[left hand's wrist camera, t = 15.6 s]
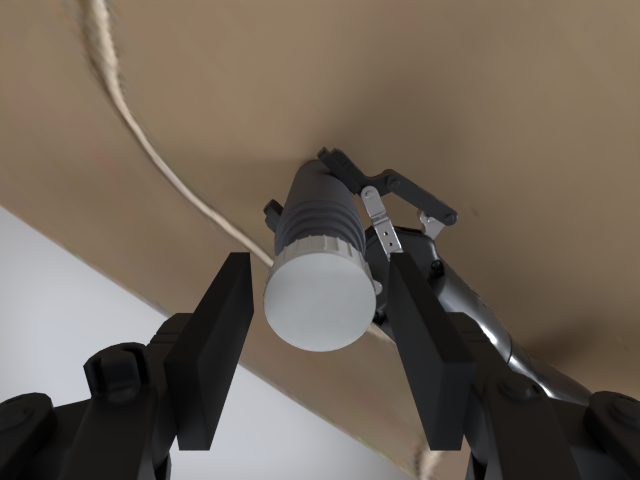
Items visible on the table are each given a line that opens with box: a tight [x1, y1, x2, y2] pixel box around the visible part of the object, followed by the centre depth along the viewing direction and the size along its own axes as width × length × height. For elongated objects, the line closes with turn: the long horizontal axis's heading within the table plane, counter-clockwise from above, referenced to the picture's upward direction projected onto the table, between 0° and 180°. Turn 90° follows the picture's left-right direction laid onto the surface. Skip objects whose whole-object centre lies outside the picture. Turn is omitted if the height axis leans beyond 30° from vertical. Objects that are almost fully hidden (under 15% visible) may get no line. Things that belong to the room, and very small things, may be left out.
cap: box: [263, 235, 376, 351], centre depth 14 cm, size 4×4×2 cm
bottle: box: [275, 160, 365, 258], centre depth 23 cm, size 5×5×20 cm
